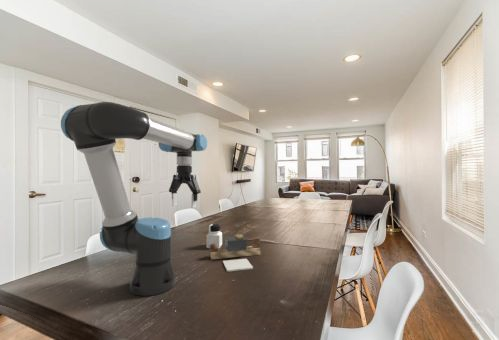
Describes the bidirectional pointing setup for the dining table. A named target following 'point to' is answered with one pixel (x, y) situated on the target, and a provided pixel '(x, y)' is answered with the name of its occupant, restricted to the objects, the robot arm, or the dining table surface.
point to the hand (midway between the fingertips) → (184, 206)
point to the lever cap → (235, 243)
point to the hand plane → (223, 253)
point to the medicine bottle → (214, 235)
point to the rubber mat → (237, 265)
